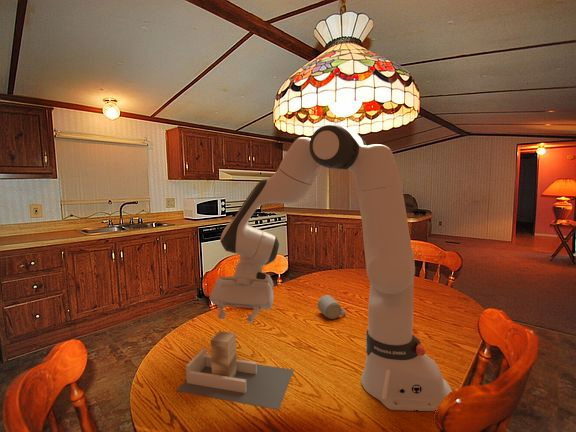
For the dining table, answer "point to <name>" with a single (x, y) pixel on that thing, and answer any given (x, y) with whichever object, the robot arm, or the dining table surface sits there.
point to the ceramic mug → (330, 307)
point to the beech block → (224, 354)
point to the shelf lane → (237, 382)
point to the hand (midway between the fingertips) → (235, 319)
